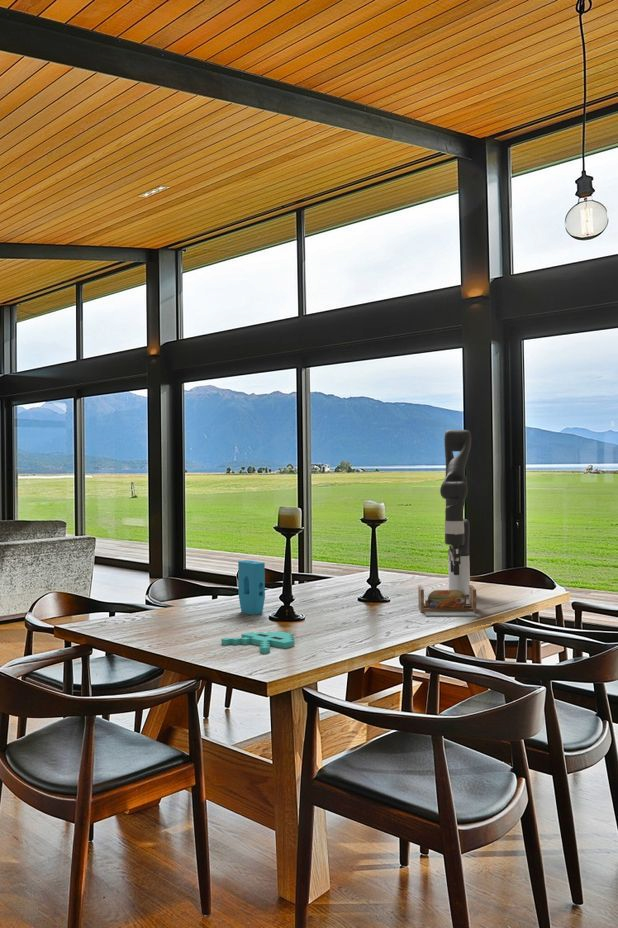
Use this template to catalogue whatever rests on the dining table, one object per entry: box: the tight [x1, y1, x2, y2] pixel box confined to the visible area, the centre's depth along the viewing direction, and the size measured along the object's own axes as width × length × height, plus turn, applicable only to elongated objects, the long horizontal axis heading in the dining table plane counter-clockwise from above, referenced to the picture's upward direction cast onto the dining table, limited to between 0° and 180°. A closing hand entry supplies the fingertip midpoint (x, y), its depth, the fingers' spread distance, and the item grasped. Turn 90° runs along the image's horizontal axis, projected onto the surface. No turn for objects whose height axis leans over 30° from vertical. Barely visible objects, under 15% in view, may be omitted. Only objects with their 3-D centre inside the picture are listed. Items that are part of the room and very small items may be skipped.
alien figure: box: [220, 631, 295, 655], centre depth 254 cm, size 20×2×20 cm
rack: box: [417, 584, 477, 614], centre depth 308 cm, size 11×21×9 cm, turn 87°
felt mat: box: [424, 612, 477, 618], centre depth 298 cm, size 7×19×1 cm, turn 87°
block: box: [237, 559, 266, 616], centre depth 307 cm, size 12×5×20 cm, turn 41°
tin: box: [426, 589, 467, 608], centre depth 307 cm, size 15×3×8 cm, turn 90°
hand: (454, 573), depth 306 cm, fingers open, 8 cm apart
